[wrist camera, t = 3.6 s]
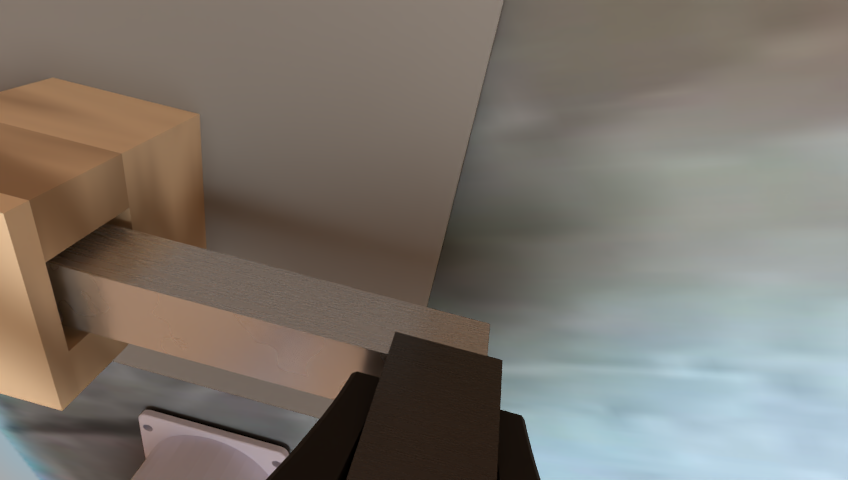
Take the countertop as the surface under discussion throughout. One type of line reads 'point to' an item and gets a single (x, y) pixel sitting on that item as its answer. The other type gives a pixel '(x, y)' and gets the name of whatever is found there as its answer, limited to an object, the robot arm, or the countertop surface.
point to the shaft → (298, 344)
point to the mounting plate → (289, 128)
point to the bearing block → (81, 214)
